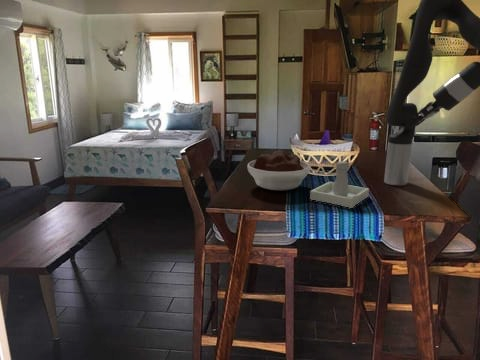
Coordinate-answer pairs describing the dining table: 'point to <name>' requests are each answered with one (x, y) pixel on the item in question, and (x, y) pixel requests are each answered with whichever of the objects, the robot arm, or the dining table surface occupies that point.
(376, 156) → the dining table surface
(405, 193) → the dining table surface
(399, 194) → the dining table surface
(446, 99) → the robot arm
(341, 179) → the salt shaker
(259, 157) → the white bowl of pudding
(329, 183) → the tray
